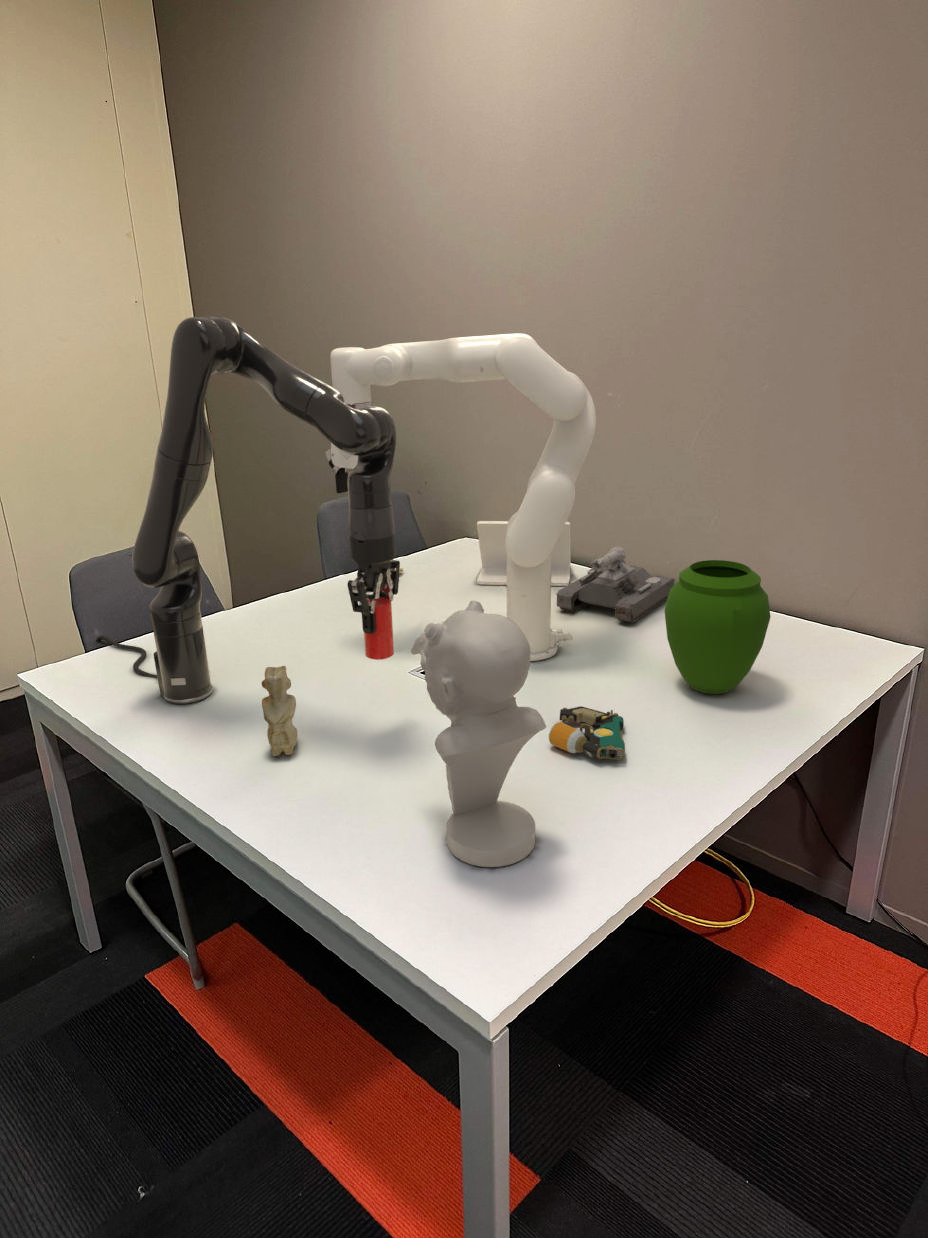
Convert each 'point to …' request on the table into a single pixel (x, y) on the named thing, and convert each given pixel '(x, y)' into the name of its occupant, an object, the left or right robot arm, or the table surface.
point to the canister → (380, 632)
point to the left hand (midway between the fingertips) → (377, 626)
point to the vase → (716, 623)
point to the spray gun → (589, 733)
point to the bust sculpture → (481, 729)
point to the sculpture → (279, 711)
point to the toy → (616, 588)
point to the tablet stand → (496, 555)
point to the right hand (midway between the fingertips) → (359, 494)
